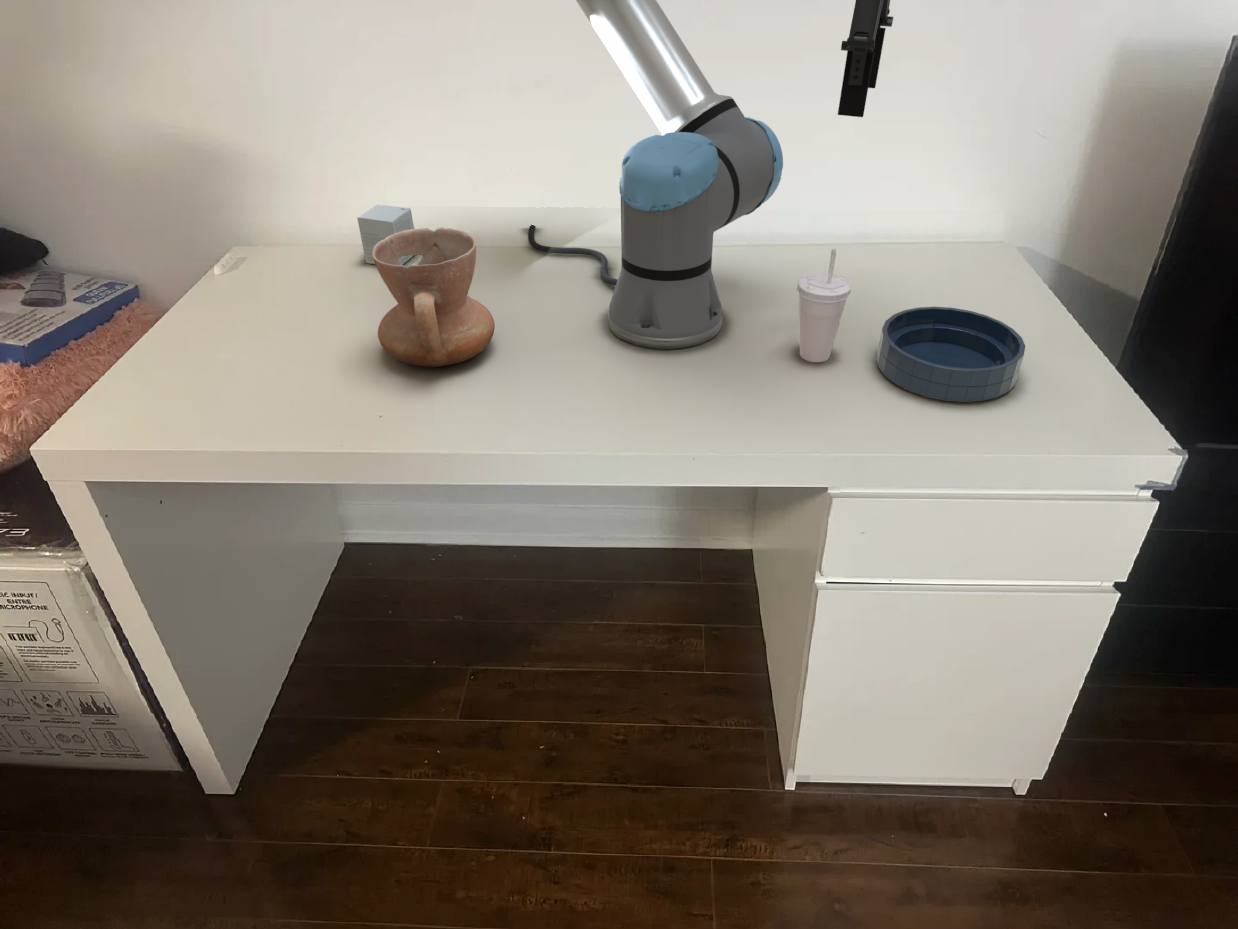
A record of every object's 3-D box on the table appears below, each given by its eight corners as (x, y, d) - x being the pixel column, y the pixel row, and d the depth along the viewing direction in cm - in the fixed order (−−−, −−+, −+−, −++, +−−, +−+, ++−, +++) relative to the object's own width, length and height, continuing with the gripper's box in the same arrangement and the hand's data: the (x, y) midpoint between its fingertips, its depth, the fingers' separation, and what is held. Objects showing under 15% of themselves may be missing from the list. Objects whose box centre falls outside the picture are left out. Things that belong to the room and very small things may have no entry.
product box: (384, 248, 139) (376, 203, 135) (419, 252, 137) (412, 207, 133) (364, 263, 134) (355, 217, 130) (400, 268, 133) (392, 221, 128)
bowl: (851, 351, 110) (856, 319, 108) (956, 329, 115) (964, 298, 112) (930, 416, 98) (938, 381, 95) (1045, 389, 103) (1056, 355, 100)
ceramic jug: (393, 322, 118) (374, 220, 110) (500, 318, 119) (489, 217, 110) (370, 391, 104) (347, 280, 95) (492, 386, 104) (480, 275, 96)
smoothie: (840, 369, 107) (857, 262, 98) (787, 365, 108) (800, 258, 99) (840, 345, 112) (856, 240, 103) (789, 340, 113) (802, 237, 104)
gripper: (926, -114, 77) (880, 132, 90) (937, -126, 96) (898, 78, 109) (840, -117, 79) (808, 125, 92) (868, -128, 98) (838, 73, 111)
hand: (857, 100), depth 100 cm, fingers open, 13 cm apart
